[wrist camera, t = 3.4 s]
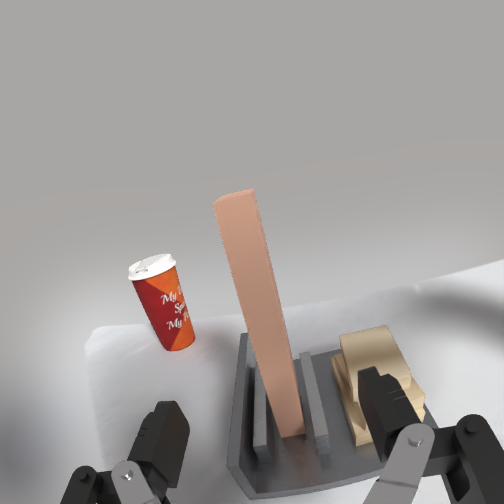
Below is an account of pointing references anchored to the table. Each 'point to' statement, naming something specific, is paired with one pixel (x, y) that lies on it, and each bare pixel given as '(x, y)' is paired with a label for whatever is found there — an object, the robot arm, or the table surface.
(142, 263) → the paper cup
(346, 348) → the offcut stack
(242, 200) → the pink rectangular bar
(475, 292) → the table surface
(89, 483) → the robot arm
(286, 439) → the rack
